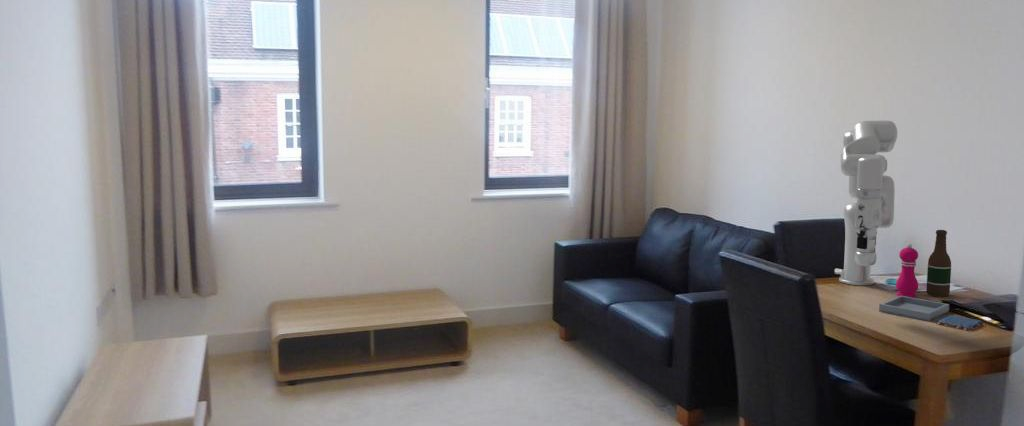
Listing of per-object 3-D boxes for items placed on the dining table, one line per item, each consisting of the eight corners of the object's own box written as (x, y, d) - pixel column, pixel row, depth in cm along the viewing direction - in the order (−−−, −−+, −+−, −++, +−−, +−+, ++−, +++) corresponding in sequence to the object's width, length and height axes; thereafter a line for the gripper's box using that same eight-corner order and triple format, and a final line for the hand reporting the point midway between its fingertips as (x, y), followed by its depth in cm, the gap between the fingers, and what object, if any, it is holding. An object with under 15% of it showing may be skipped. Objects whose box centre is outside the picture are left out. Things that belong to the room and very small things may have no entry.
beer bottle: (945, 298, 263) (949, 233, 259) (922, 294, 269) (925, 230, 265) (953, 294, 268) (957, 230, 264) (930, 290, 274) (933, 227, 270)
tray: (879, 311, 250) (879, 304, 249) (899, 302, 260) (899, 295, 259) (929, 321, 237) (929, 313, 237) (948, 311, 247) (949, 304, 247)
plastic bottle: (850, 264, 249) (852, 207, 245) (864, 262, 251) (867, 204, 248) (866, 268, 243) (868, 209, 239) (880, 266, 245) (883, 207, 242)
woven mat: (971, 333, 226) (971, 327, 226) (934, 325, 234) (935, 319, 234) (984, 326, 232) (985, 320, 232) (948, 319, 241) (949, 313, 240)
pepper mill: (920, 300, 261) (923, 245, 258) (898, 299, 263) (901, 245, 260) (913, 295, 268) (916, 241, 265) (892, 294, 270) (895, 241, 267)
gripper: (868, 198, 235) (865, 253, 238) (891, 192, 245) (889, 244, 248) (845, 196, 240) (842, 249, 243) (869, 190, 251) (867, 241, 254)
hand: (866, 246), depth 246 cm, fingers closed on plastic bottle, 5 cm apart
